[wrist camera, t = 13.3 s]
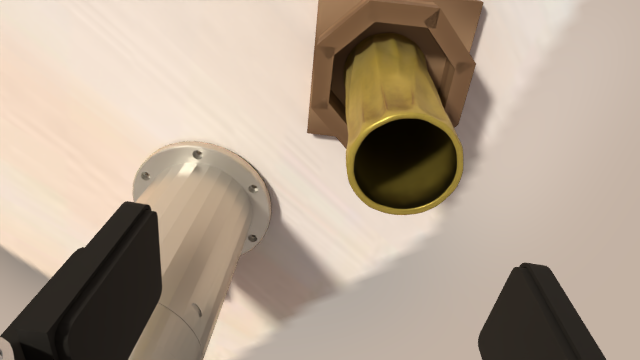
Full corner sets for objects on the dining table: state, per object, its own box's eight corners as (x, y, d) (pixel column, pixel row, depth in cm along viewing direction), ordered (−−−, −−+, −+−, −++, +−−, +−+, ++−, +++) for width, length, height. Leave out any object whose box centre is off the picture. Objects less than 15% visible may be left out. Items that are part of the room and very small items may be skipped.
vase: (406, 15, 28) (445, 76, 16) (439, 91, 31) (495, 194, 19) (328, 58, 30) (310, 141, 18) (366, 126, 33) (372, 241, 20)
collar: (440, 144, 34) (450, 166, 31) (308, 129, 34) (303, 149, 31) (480, 0, 28) (496, 9, 25) (320, -18, 28) (316, -12, 25)
